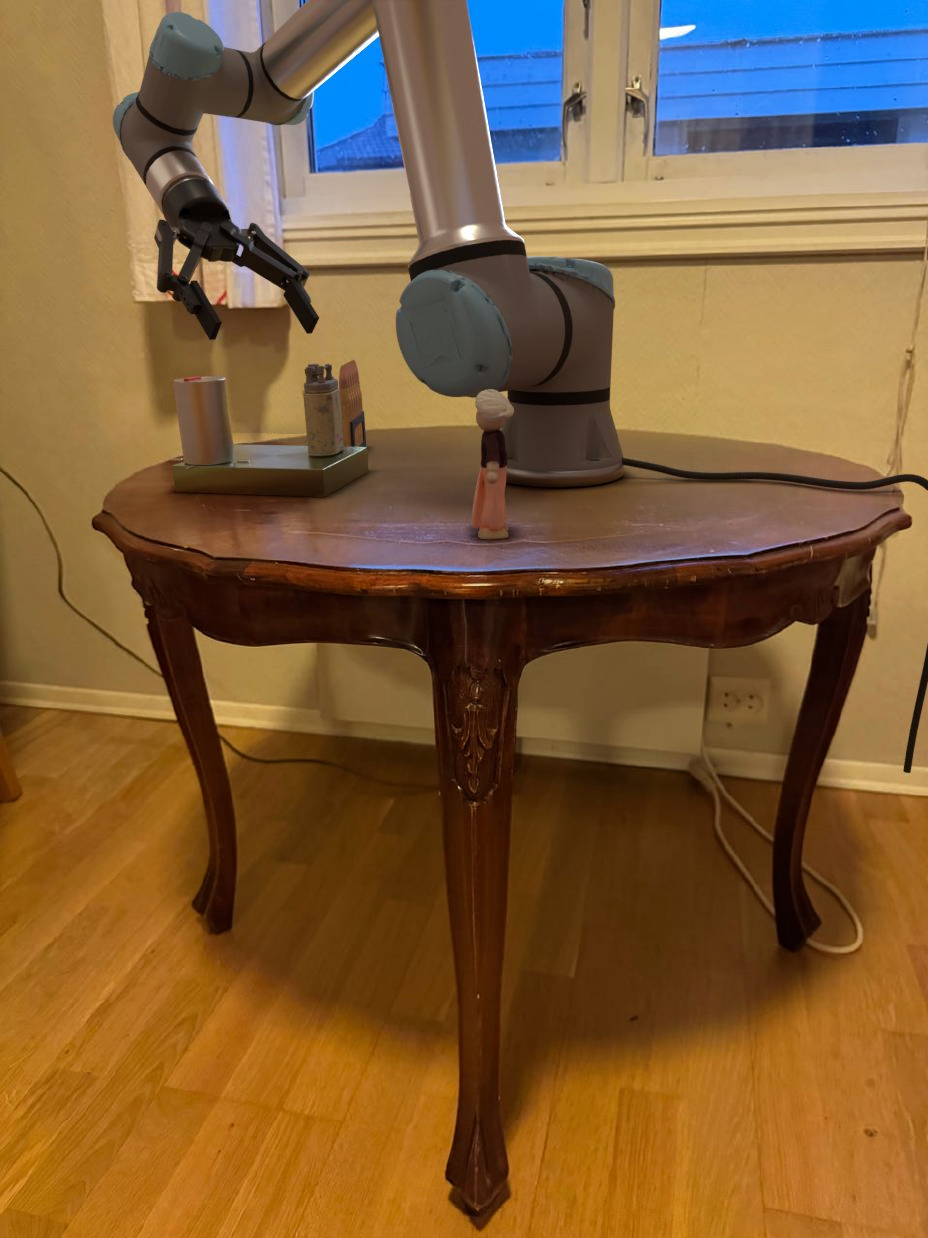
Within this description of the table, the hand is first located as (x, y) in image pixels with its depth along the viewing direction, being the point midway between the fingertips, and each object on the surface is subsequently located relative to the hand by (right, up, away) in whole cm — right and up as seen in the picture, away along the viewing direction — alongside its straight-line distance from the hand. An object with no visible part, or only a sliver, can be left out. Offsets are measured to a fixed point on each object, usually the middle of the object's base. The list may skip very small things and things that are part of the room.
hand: (266, 328), depth 106 cm
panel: (+1, -19, -3) cm, 19 cm away
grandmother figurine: (+26, -28, -27) cm, 47 cm away
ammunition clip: (+9, -13, +13) cm, 20 cm away
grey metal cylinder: (-5, -17, -6) cm, 19 cm away
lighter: (+8, -15, -2) cm, 17 cm away
